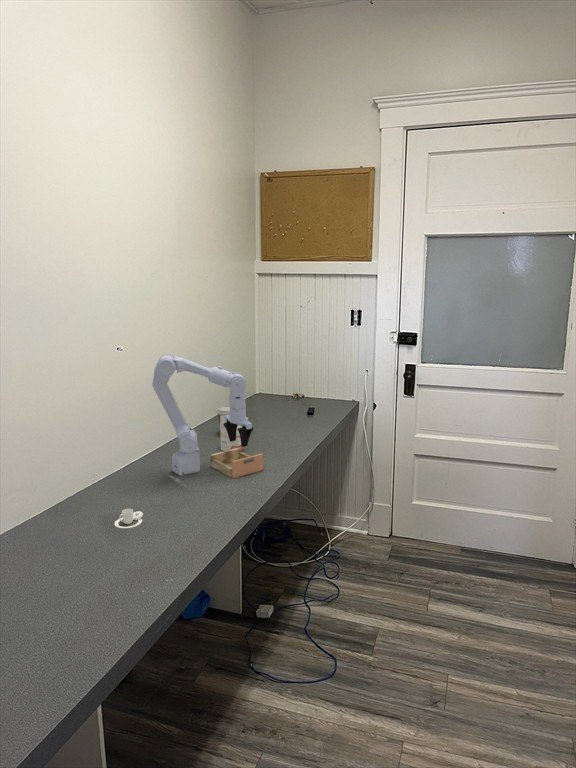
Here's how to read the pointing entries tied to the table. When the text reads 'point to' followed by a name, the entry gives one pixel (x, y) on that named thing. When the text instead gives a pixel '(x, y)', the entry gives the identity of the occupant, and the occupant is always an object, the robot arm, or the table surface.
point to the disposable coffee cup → (223, 411)
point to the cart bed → (226, 460)
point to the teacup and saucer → (129, 518)
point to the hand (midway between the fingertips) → (238, 443)
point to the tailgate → (247, 465)
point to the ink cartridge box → (225, 438)
